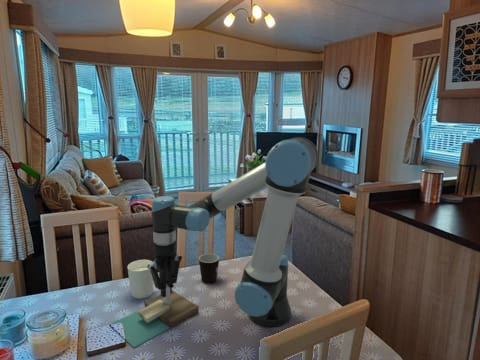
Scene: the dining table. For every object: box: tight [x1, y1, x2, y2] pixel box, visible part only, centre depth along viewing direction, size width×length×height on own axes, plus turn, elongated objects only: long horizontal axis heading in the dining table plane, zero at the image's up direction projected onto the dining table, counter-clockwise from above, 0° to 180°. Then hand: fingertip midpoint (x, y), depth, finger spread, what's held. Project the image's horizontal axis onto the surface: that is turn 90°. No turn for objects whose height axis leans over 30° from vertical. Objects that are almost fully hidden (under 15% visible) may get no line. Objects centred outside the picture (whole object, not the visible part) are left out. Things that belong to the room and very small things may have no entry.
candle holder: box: [127, 259, 154, 300], centre depth 132 cm, size 10×10×12 cm
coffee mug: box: [198, 253, 220, 285], centre depth 144 cm, size 12×9×10 cm
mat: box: [108, 308, 171, 349], centre depth 113 cm, size 16×13×1 cm
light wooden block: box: [137, 300, 170, 323], centre depth 116 cm, size 6×9×2 cm, turn 137°
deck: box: [143, 289, 199, 329], centre depth 122 cm, size 16×12×2 cm
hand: (166, 303), depth 120 cm, fingers closed
